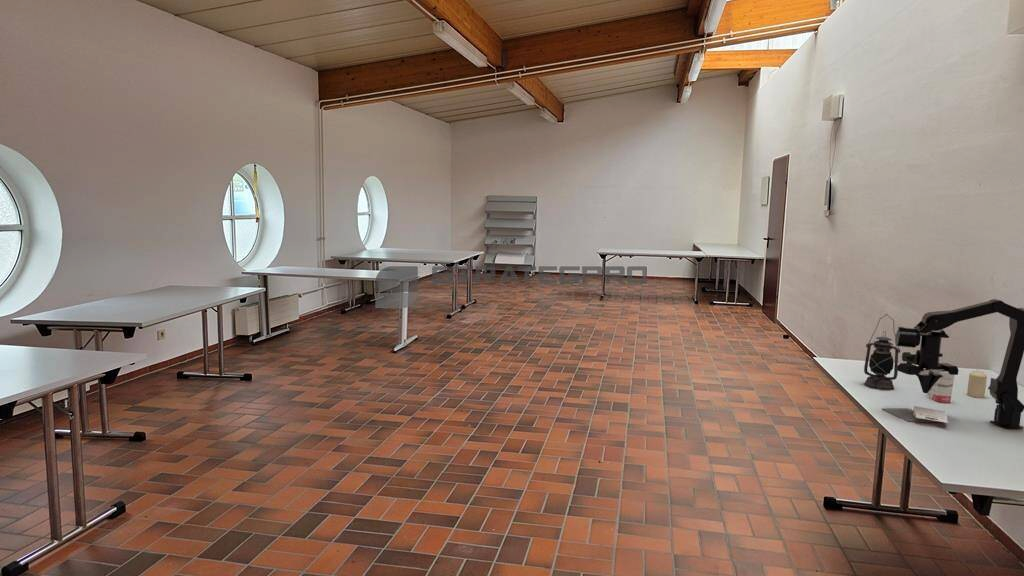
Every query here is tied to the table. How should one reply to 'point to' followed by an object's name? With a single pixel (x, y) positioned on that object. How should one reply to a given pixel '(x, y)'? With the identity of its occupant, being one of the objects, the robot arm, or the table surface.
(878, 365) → the lantern
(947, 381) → the ink box
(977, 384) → the candle
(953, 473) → the table surface
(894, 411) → the slate mat
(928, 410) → the ink box
